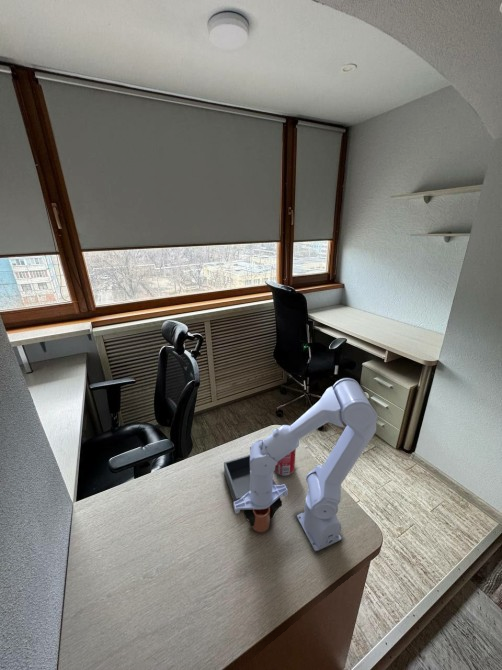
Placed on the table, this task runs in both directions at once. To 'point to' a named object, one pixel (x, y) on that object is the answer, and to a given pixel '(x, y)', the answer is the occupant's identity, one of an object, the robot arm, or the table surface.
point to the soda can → (286, 464)
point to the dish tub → (238, 476)
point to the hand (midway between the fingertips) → (260, 519)
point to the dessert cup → (261, 519)
